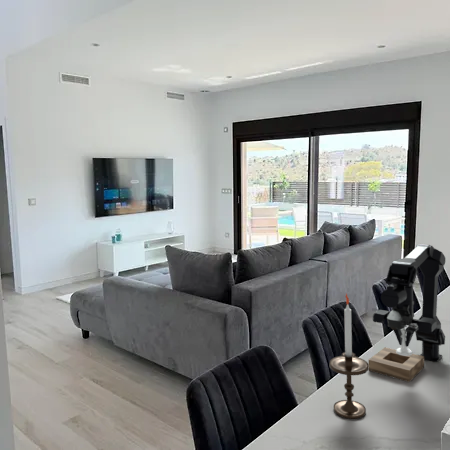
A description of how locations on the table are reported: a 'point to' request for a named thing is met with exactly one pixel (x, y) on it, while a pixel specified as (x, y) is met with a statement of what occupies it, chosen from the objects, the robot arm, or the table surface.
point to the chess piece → (404, 345)
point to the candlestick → (349, 373)
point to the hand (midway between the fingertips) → (404, 345)
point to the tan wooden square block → (396, 364)
